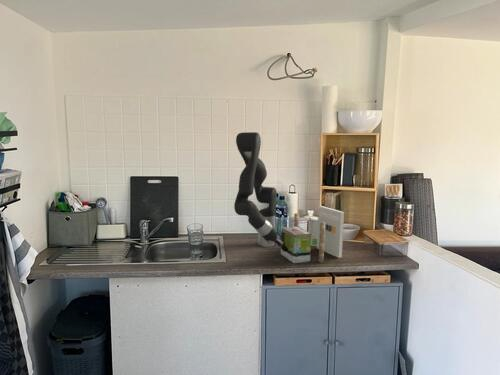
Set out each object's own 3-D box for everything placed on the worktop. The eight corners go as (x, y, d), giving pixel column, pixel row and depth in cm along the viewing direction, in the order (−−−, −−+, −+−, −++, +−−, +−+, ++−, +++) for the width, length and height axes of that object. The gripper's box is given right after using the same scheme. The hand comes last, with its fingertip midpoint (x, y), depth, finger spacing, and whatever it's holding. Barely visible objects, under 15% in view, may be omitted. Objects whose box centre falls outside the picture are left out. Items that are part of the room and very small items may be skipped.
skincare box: (311, 246, 211) (312, 219, 209) (306, 243, 217) (307, 217, 215) (324, 245, 213) (326, 219, 211) (320, 242, 219) (321, 216, 217)
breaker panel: (315, 248, 207) (316, 206, 204) (319, 247, 209) (321, 205, 205) (337, 258, 192) (339, 212, 188) (341, 257, 193) (344, 212, 190)
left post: (292, 249, 206) (293, 213, 203) (296, 248, 207) (297, 213, 204) (294, 250, 204) (296, 214, 201) (298, 249, 205) (299, 214, 202)
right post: (317, 261, 187) (319, 222, 184) (321, 260, 188) (323, 222, 185) (320, 262, 185) (322, 223, 182) (324, 262, 186) (326, 223, 183)
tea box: (311, 261, 186) (312, 233, 184) (293, 263, 183) (294, 234, 181) (297, 252, 200) (297, 225, 198) (280, 254, 197) (280, 227, 195)
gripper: (277, 226, 176) (298, 248, 184) (263, 220, 188) (283, 241, 195) (267, 238, 174) (288, 260, 182) (254, 231, 186) (274, 252, 193)
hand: (285, 250), depth 189 cm, fingers closed
